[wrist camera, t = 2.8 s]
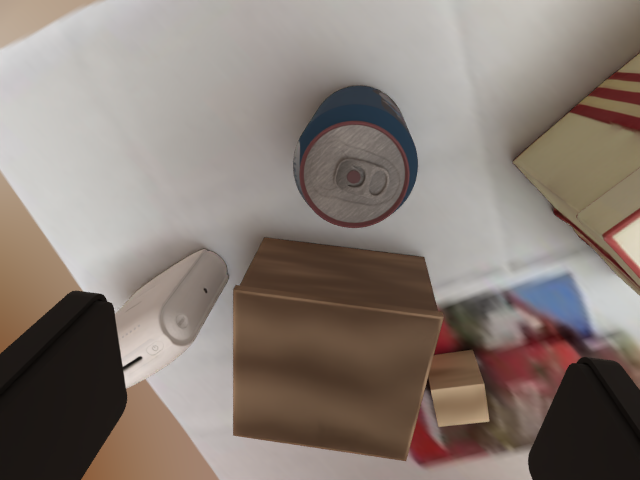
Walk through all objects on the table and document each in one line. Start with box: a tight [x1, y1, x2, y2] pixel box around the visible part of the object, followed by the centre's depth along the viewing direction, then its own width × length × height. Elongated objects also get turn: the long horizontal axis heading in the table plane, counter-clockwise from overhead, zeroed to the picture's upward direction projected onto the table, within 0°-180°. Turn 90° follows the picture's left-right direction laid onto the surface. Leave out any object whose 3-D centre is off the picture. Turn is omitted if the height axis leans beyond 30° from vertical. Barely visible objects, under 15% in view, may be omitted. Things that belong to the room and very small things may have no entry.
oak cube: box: [428, 350, 489, 427], centre depth 40 cm, size 4×4×4 cm
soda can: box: [293, 86, 418, 228], centre depth 28 cm, size 7×7×12 cm
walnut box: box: [233, 237, 444, 461], centre depth 36 cm, size 14×14×9 cm
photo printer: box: [115, 249, 229, 388], centre depth 35 cm, size 10×4×12 cm, turn 125°
